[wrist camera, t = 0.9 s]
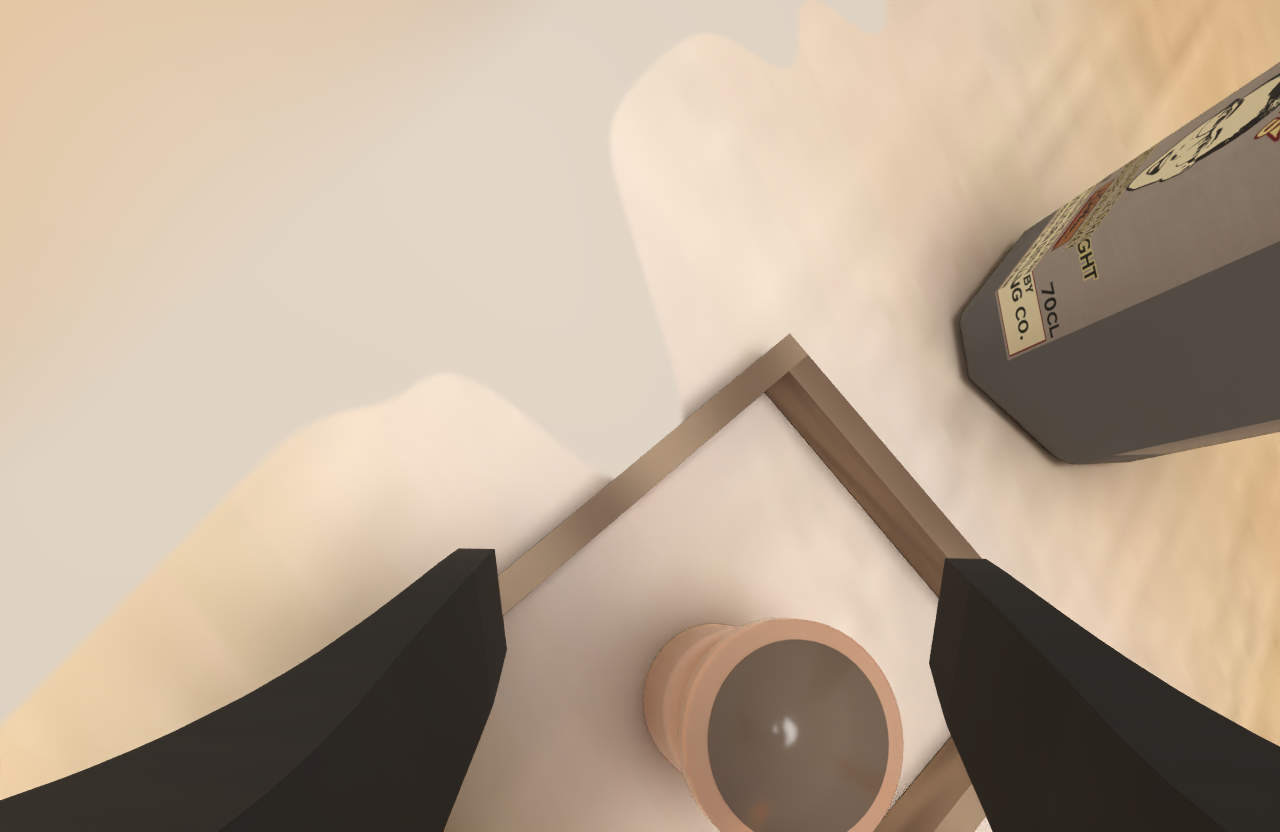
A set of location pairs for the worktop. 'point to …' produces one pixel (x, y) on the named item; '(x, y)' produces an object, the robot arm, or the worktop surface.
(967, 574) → the robot arm
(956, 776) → the cold frame
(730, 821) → the terracotta pot
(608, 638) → the worktop surface
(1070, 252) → the liquor
